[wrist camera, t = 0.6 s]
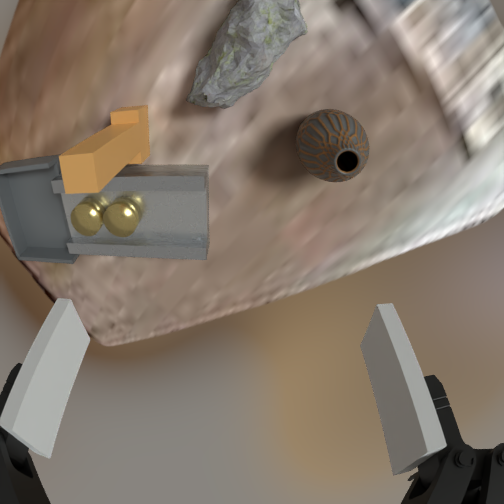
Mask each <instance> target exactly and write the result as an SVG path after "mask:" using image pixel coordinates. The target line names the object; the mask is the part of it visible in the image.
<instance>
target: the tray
mask: <svg viewBox="0 0 504 504" xmlns="http://www.w3.org/2000/svg"><path fill="white" fill-rule="evenodd" d="M59 156H60V155H53V156H45V157H38V158H31V159H24V160H18V161H12V162H6V163H3V164H2V165H0V207H1V211H2V214H3V217H4V221H5V224H6V227H7V230H8V233H9V236H10V239H11V241H12V244H13V247H14V250H15V252H16V255H17V258H18V260H27V261H41V262H54V263H69V264H73V263H74V262H75V260H76V259H77V258H78V256H79V255H80V254H70V253H69V250H68V247H67V242H68V240H69V239H70V238H71V233H70V229H69V226H68V222H67V218H66V214H65V209H64V205H63V201H62V196H61V193H53V188H52V183H51V180H53V179H54V178H55V177H56V176H58V175H59V174H60V173H61V167H60V161H59Z"/></svg>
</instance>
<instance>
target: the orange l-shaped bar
mask: <svg viewBox="0 0 504 504" xmlns="http://www.w3.org/2000/svg"><path fill="white" fill-rule="evenodd" d="M110 113H111V125H110V126H108V127H106V128H105V129H103V130H101V131H99V132H97V133H96V134H94V135H92V136H91V137H89V138H87V139H86V140H84V141H82V142H81V143H79V144H77V145H76V146H74V147H72V148H71V149H69V150H68V151H66V152H65V153H63V154H62V155H60V156H59V161H60V167H61V173H62V178H63V183H64V188H65V193H66V194H74V193H99V192H100V191H101V190H102V189H103V188H104V187H105V186H106V185H107V184H108V183H109V182H110V181H111V180H112V179H113V178H114V177H115V176H116V175H117V174H118V173H119V172H120V171H121V170H122V169H123V168H124V167H125V166H126V165H127V164H142V163H143V162H144V161H145V159H146V158H147V157H148V156H149V155H150V147H149V128H148V105H145V106H132V107H122V108H119V109H117V110H115V111H112V112H110Z"/></svg>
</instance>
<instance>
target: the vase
mask: <svg viewBox="0 0 504 504" xmlns="http://www.w3.org/2000/svg"><path fill="white" fill-rule="evenodd" d="M296 150H297V154H298V156H299V159H300V161H301V162H302V164H303V166H304V167H305V168H306V169H307V170H308V171H309V172H310V173H311V174H313V175H314V176H316V177H317V178H319V179H322V180H325V181H329V182H343V181H347V180H349V179H351V178H353V177H355V176H356V175H358V174H359V173H360V172H361V171H362V169H363V168H364V166H365V165H366V163H367V160H368V157H369V141H368V137H367V135H366V132H365V130H364V129H363V127H362V126H361V124H360V123H359V122H358V121H357V120H356V119H355V118H353V117H352V116H350V115H349V114H347V113H345V112H342V111H339V110H334V109H325V110H320V111H317V112H315V113H313V114H311V115H309V116H308V117H307V118H306V119H305V120H304V121H303V122H302V124H301V125H300V127H299V129H298V132H297V135H296Z"/></svg>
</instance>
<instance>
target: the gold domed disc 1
mask: <svg viewBox="0 0 504 504" xmlns="http://www.w3.org/2000/svg"><path fill="white" fill-rule="evenodd" d="M105 211H106V210H105V208H104V206H103V205H102V204H101V203H100V202H99V201H98V200H96V199H94V198H85V199H83V200H82V201H81V202H80V203H79V204H78V205H77V206H76V207H75V208H74V209H73V210H72V212H71V223H72V225H73V227H74V228H75V230H76V231H77V232H79V233H80V234H82V235H84V236H93V235H95V234H96V233H97V232H98V231H99V230H100V228H101V227H102V226H103V224H104V221H103V215H104V213H105Z"/></svg>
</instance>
